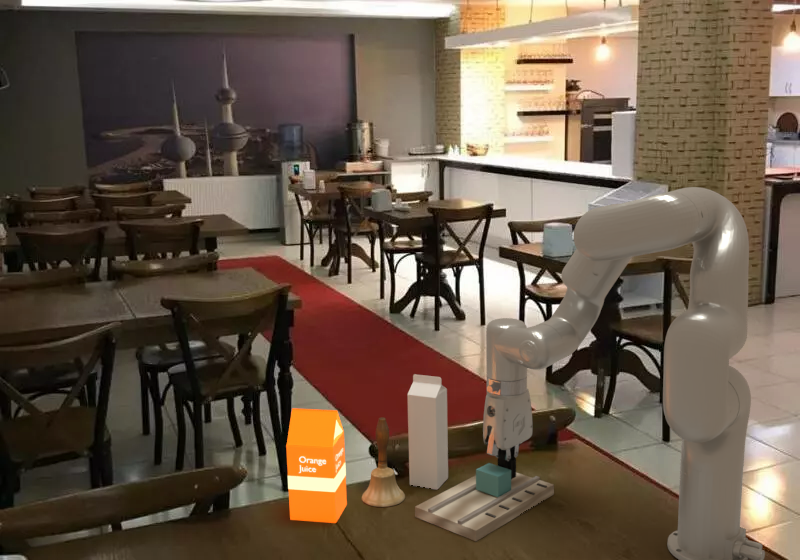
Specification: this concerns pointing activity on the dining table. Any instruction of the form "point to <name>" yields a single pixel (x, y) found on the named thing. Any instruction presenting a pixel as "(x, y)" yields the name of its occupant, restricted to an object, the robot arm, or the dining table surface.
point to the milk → (427, 432)
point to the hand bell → (382, 475)
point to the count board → (482, 506)
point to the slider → (493, 479)
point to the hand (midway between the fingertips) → (506, 476)
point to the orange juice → (316, 465)
